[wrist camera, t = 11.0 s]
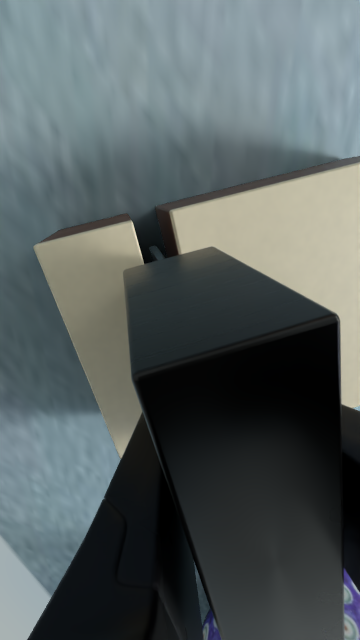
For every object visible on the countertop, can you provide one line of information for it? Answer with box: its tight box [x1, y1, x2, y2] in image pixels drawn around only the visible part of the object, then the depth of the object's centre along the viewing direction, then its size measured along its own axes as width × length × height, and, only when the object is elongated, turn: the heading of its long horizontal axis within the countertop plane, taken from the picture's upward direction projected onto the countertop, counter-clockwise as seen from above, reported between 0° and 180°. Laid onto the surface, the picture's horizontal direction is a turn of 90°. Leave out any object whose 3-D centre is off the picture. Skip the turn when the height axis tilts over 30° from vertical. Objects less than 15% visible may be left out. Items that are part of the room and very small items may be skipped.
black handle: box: [123, 246, 345, 640], centre depth 9 cm, size 2×8×10 cm, turn 13°
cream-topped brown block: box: [33, 213, 144, 459], centre depth 13 cm, size 3×10×4 cm, turn 13°
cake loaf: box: [155, 156, 360, 408], centre depth 14 cm, size 9×10×4 cm
